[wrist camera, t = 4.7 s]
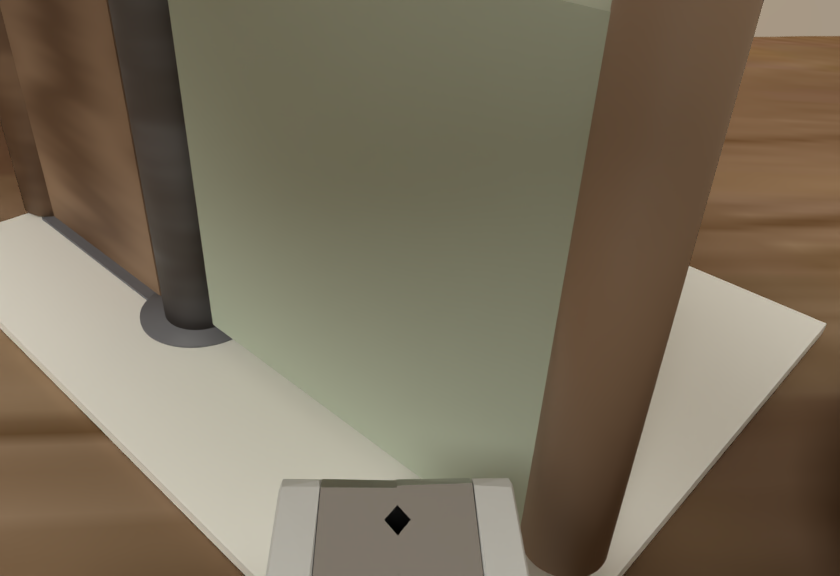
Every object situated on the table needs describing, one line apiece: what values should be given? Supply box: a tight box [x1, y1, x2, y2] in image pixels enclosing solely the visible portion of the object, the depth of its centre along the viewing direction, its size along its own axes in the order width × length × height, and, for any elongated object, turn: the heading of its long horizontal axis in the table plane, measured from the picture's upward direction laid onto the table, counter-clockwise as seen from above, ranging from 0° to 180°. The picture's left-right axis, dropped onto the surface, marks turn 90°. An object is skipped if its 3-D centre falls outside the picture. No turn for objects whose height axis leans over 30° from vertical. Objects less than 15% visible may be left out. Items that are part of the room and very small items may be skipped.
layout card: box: [0, 213, 826, 576], centre depth 28 cm, size 26×20×1 cm
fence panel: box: [168, 0, 764, 576], centre depth 17 cm, size 14×2×12 cm, turn 47°
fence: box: [0, 0, 216, 330], centre depth 25 cm, size 13×2×14 cm, turn 47°
